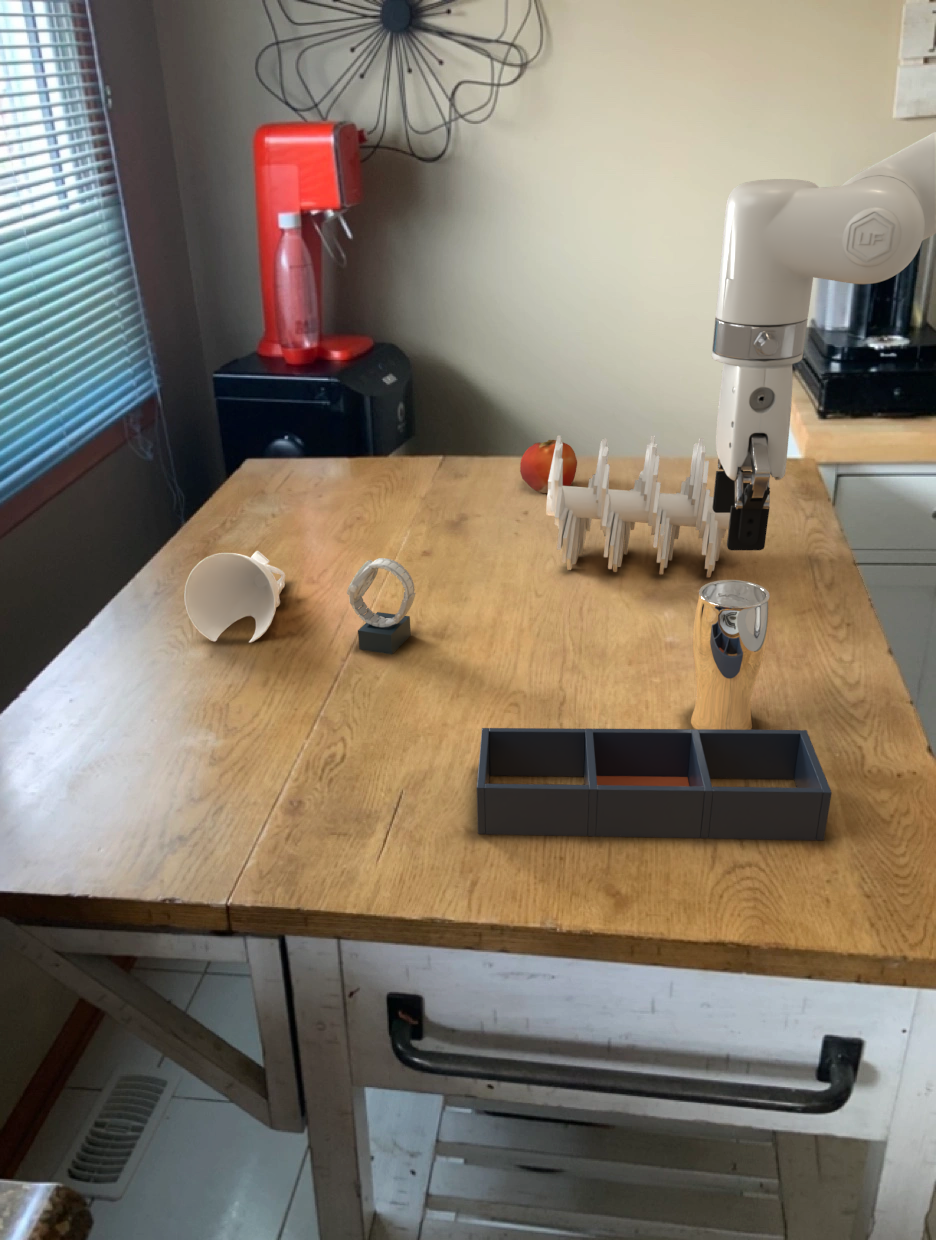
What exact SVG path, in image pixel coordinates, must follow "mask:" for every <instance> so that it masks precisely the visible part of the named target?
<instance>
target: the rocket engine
mask: <svg viewBox="0 0 936 1240" xmlns="http://www.w3.org/2000/svg"><path fill="white" fill-rule="evenodd" d="M269 563H270V559H268V558H267V557H266V556H265V555H264V554H263V553H262V552H261V551H259V550H256V551H254V552H253V554H252V555H251V557H250V556H248V555H244V554H241V553H237V552H236V553H235V552H219V553H213V554H211V555H209V556H207V557H204V558H203V559H202V560H201V561H199V562H198V563H197V564H196V565H195V566H194V567H193V568H192V570H191V571H190V573H189V575H188V577H187V579H186V582H185V586H184V591H183V593H184V595H183V597H184V599H183V600H184V607H185V609H186V613H187V615H188V618H189V620H190V622H191V623H192V625H193V626H194V627H195V629H196V630H197V631H198V632H199V633H200V634H201V635H202V636H203V637H205V638H206V639H207V640H209V641H211V642H216V641H218V639H219V637H220V635H222V633H223V632H224V631H225V630H227V628H229V627H230V626H231V625H233V624H235V622H237V621H239V620H241V619H243V618H246V617H252V618H253V619H254V620H255V630H254V633H253V635H252V637H251V639H250V640H248V643H253V642H255V641H257V640H258V639H260V638H261V637H262V636H263V635H264V634H265V633H267V631H268V629H269V627H270V626H271V625H272V621H273V620H274V617H275V614H276V610H277V608H278V607H279V606H280V605H281V600H280V594H281V592H282V590H283V589H284V588H285V586H286V583H285V580H286V573H285V572H284V571H283V570H282V569H280V568H278V567H275V566H274V565H271V564H269ZM274 574H276V575H280V578H279V579H278V580H277V579H276V577H275V575H274Z"/></svg>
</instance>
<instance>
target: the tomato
mask: <svg viewBox="0 0 936 1240" xmlns="http://www.w3.org/2000/svg"><path fill="white" fill-rule="evenodd" d="M556 440H557V439H548V440H547V441H544V442H541V441H540V442H535V443H533V444H532V445H531V446H529V447H528V448H527V449H526V450H525V451H524V452H523V454H522V456H521V459H520V465H519V466H520V467H519V472H520V476H521V479H522V480H523V481H524V482H525V483H526V484H527V485H528V486H529V487H530V488H531V489H533V490H534V491H536V492H538V493H541V494H548V479H549V474H550V469H551V464H552V459H553V455H554V450H555V445H556ZM562 444H563V450H562V459H563V486H572V485H573V483H574V480H575V477H576V473H577V467H578V460H577V456H576V453H575V450H574V448H573V447H572V446H571V445H570V444H568V443H566V442H564V441H562Z"/></svg>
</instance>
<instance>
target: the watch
mask: <svg viewBox="0 0 936 1240" xmlns="http://www.w3.org/2000/svg"><path fill="white" fill-rule="evenodd" d="M379 569H381V570H384V571H387V572H388V573H391V575H393V576H394V577H396V579H397V580H398V581H399V582H401V585H402V587H403V589H404V591H403V598H402V600H401V603H400V607H399V609H398V611H397V612H396V613H387V612H381V611H377V612H376V613H375V612H374V611H373V610H372V609H370V607H368V606H367V605H368V604H366V602H365V601H364V598H363V597H364V596H365V593H366V592H367V590H368V589H369V588H370V587H371V585H372V584H373V582H374V581H375V579H376V577H377V575H378V571H379ZM415 590H416V589H415V584H414V580H413V578H412V576H411V574H410V573H409V571H408V570H407V569H406V568H405V567H404V566H403V565H402V564H401V563H399V562H398V561H396V560H394V559H391V558H387V557H386V558H384V557H379V558H376V559H375V560H371V559H368V560H367V561H365V562H364V563H363V564H362V566H361V567H359V569H358V570H357V572H356V573H355V574H354V576H353V578H352V580H351V581H350V583H349V585H348V587H347V590H346V595H347V596H349V598H348V602H349V604H350V606H351V608H352V609H353V611H354V612H355V614H356V615H357V616H358V618H360V619H361V620H362V621H363V622H365V623H364V624H363V625H362V626H361V627H360V628H359V629H357V637H358V649H359V650H360V651H367V652H374V653H380V654H386V655H394V653H395V652H396V651H397V650H398V649H399V648H400V647H401V646H402V645H403V644H404V643H405V642H406V641H407V640H408V639H409V638H410V637H411V635H412V632H411V631H412V630H411V629H412V628H411V616H410V615H407V614H408V613H409V611H410V609H411V607H412V605H413V603H414V601H415V596H416V592H415Z"/></svg>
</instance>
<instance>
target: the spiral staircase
mask: <svg viewBox="0 0 936 1240" xmlns="http://www.w3.org/2000/svg"><path fill="white" fill-rule="evenodd" d="M555 440H556V445H555V450H554V455H553V459H552V464H551V469H550V474H549V479H548V493H546V494H547V495H546V507H545V510H546V511H545V514H546V516H553V517H554V524H553V525H554V526H556V528H557V545H556V550H557V551H561V564H566V568H567V571H572V569H573V565H576V564H577V562H578V559H579V555H583V553H584V548H585V543H586V539H587V532H591V528H592V527H591V526H592V520H600V525H599V528H600V529H599V530H600V531H602V532H603V537H605V538H604V539H605V540H604V552H603V558H608V565H607V569H608V570H612V572H613V573H618V568H621V567H622V563H623V556H624V555H628V551H629V546H630V545H629V544H630V539H631V531H635V527H636V523H641V524H647V526H649V527H650V526H651V531H650V536H653V544H652V545H653V546H652V548H655V549H657V555H656V564H659V572H658V574H659V575H664V571H665V569H667V568H668V562H669V561H673V553H674V547H675V540H679V536H680V529H681V527H691V528H695V531H698V539H701V555H702V556H705V560H704V570H706V578H711V576H712V572H714V571H715V566H716V562H719V560H720V559H719V558H720V553H721V546H722V540H723V539H725V535H726V531H727V530H728V529H729V520H730V513H715V512H714V511H713V508H712V507H713V497H714V496H710V495H711V489H708V488H707V485H708V475H709V466H710V460H706V454H707V453H706V452H707V451H706V450H707V449H706V446H705V445H703V444H704V438H703V437H699V439H698V443H695V442H694V443H693V450H692V457H691V464H690V473H689V476H686V477H685V480H682V481H681V485H680V492H676V493H667V492H661V483H662V482H661V481H658V476H659V467H660V458H661V455H659V454H658V455H657V450H658V443H656V435H651V436H650V443H646V451H645V456H644V463H643V470H641V471H640V473H639V475H638V479H634V486H633V488H630V490H626V489H614V488H613V489H611V488H610V486H609V485H610V467H611V465H610V464H609V450H610V448H609V444H608V438H602V439H601V440H600V445H599V449H598V450H599V452H598V458H597V464H596V469H595V473H594V474H592V476H591V477H589V479H588V486H587V487H585V486H575V485H573V486H572V485H570V486H563V459H562V450H563V444H562V442H563V439H562V435H557V436H556V439H555Z"/></svg>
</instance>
